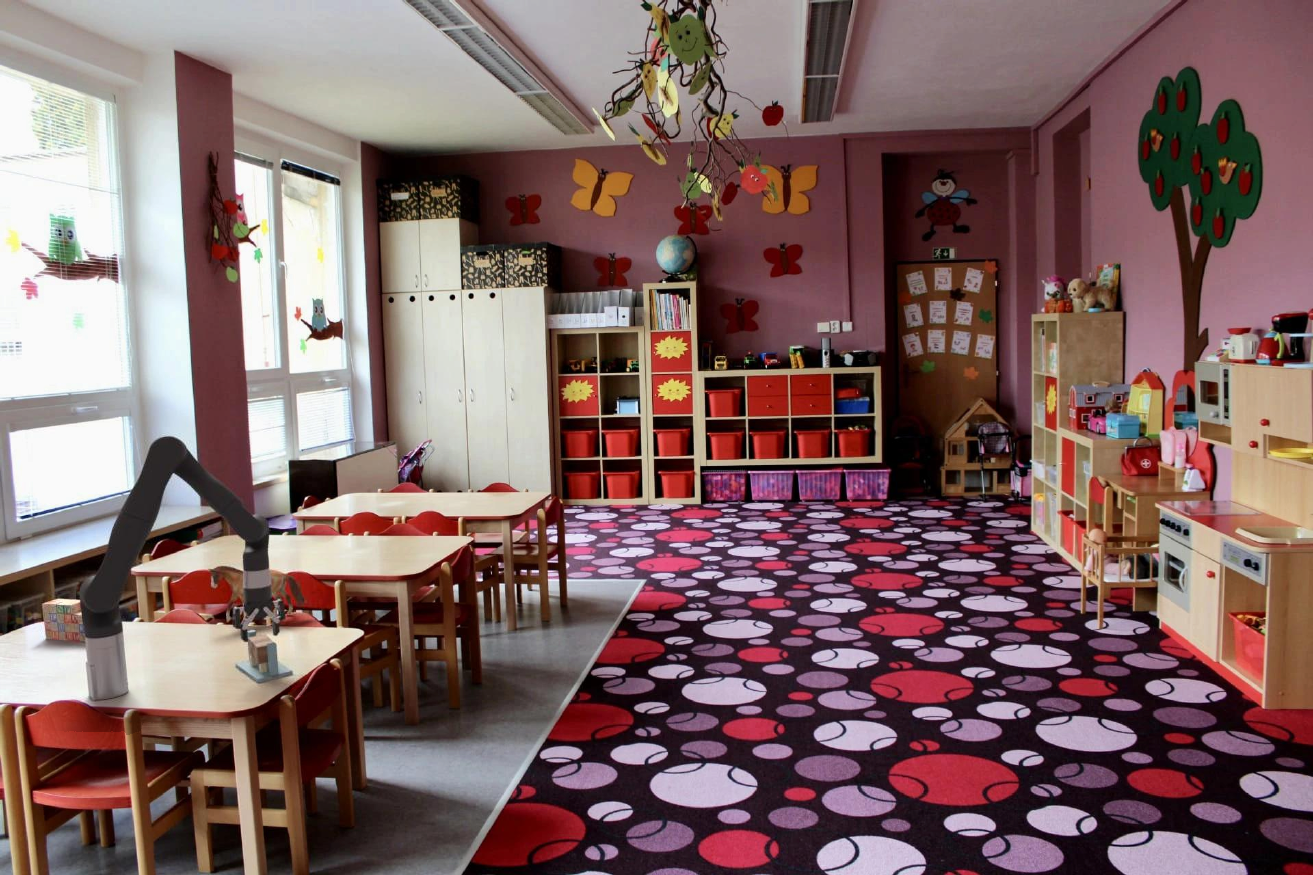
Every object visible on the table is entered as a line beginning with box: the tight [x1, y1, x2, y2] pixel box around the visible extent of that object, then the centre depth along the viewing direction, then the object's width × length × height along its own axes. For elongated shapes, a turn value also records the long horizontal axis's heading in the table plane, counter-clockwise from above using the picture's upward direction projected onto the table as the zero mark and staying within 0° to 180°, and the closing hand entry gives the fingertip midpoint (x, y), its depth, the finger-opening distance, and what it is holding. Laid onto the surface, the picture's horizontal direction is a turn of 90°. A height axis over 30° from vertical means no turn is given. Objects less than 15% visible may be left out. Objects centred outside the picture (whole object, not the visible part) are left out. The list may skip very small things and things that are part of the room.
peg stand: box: [234, 629, 294, 683], centre depth 286 cm, size 10×19×10 cm, turn 41°
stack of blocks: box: [41, 598, 85, 643], centre depth 325 cm, size 21×6×12 cm, turn 72°
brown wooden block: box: [247, 633, 274, 664], centre depth 286 cm, size 12×5×5 cm, turn 35°
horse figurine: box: [207, 565, 308, 623], centre depth 339 cm, size 31×8×21 cm, turn 104°
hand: (260, 638), depth 285 cm, fingers open, 8 cm apart
